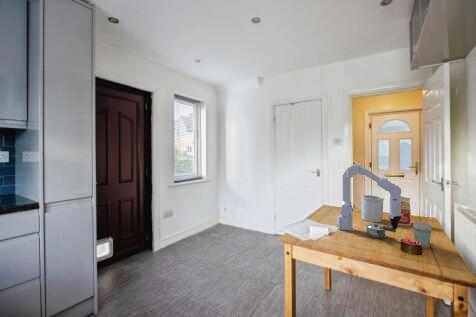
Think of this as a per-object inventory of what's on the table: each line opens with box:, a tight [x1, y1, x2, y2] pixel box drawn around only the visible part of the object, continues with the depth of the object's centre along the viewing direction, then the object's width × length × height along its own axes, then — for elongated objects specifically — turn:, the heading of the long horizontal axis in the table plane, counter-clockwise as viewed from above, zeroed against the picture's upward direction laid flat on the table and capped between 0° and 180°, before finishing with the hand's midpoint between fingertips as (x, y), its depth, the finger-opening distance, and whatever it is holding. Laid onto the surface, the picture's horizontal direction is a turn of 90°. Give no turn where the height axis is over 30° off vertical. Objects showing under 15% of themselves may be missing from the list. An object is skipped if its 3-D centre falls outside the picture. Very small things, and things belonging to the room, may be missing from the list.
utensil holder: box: [360, 194, 385, 223], centre depth 175 cm, size 15×15×18 cm
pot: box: [366, 227, 386, 240], centre depth 142 cm, size 17×10×5 cm, turn 170°
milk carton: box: [398, 195, 412, 227], centre depth 166 cm, size 9×9×20 cm
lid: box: [365, 223, 397, 233], centre depth 141 cm, size 16×11×2 cm
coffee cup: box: [412, 221, 433, 249], centre depth 128 cm, size 8×8×12 cm
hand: (394, 228), depth 140 cm, fingers closed
